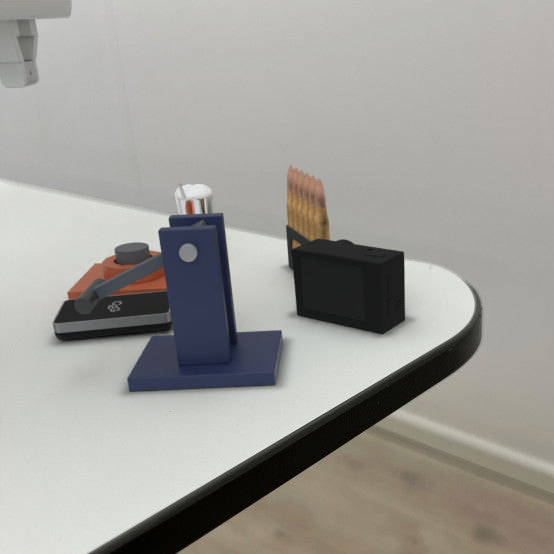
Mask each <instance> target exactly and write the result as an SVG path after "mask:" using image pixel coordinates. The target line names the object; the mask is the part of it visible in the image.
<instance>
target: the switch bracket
mask: <svg viewBox="0 0 554 554" xmlns="http://www.w3.org/2000/svg"><path fill="white" fill-rule="evenodd" d="M201 220H204V221H205V223H206V224H207V226H192V225H193V224H195V223H197V222H199V221H201ZM168 224H169V225H168V226H166V227H160V228H159V229H158V230H157V234H158V241H159V245H160V252H161V254H162V261H163V267H164V274H165V280H166V287H167V293H168V300H169V307H170V313H171V320H172V326H171V327H172V331H173V334H167V335H166V334H165V335H164V334H163V335H151V336H150V338H149V339H148V341H147V343H146V344H145V347H144V349H143V350H142V351H141V354H140V356H139V357H138V359H137V361H136V363H135V364H134V366H133V367H132V370H131V371H130V373H129V374H128V376H127V378H126V379H127V384H128V391H129V392H141V391H143V392H145V391H146V392H147V391H164V390H165V391H166V390H187V389H190V390H191V389H209V388H227V387H228V388H231V387H233V388H234V387H254V386H275V385H276V383H277V376H278V371H279V366H280V360H281V359H280V358H281V354H282V349H283V342H284V340H283V339H284V338H283V331H282V330H281V329H278V330H277V329H275V330H274V329H273V330H253V331H237V322H236V313H235V303H234V295H233V286H232V278H231V269H230V259H229V251H228V244H227V243H228V242H227V234H226V225H225V216H224V213H223V212H213V213H207V214H184V215H179V214H171V215H170V216H169V217H168Z"/></svg>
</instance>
